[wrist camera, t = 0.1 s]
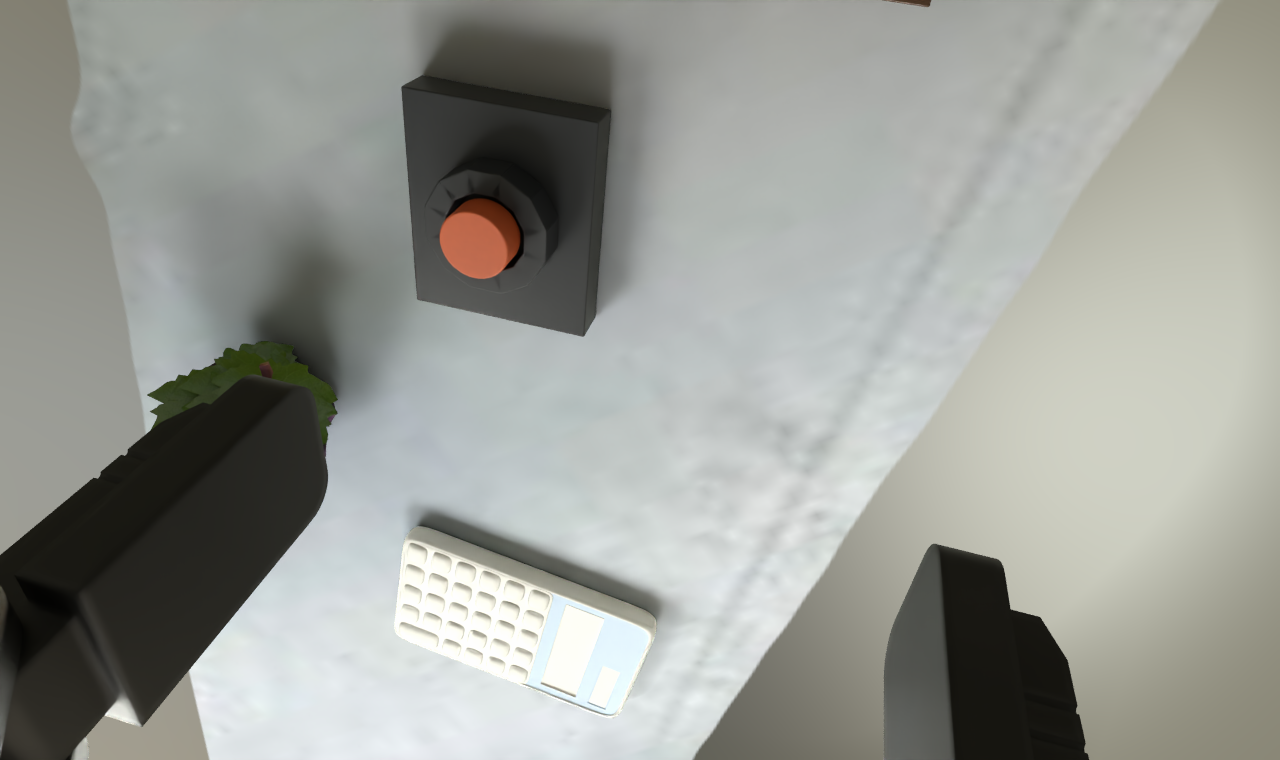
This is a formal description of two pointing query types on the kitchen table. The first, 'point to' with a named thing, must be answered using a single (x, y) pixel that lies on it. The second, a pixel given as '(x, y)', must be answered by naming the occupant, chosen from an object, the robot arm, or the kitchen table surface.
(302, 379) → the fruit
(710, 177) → the kitchen table surface
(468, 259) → the button
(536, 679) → the calculator
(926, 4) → the base
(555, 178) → the push button box
